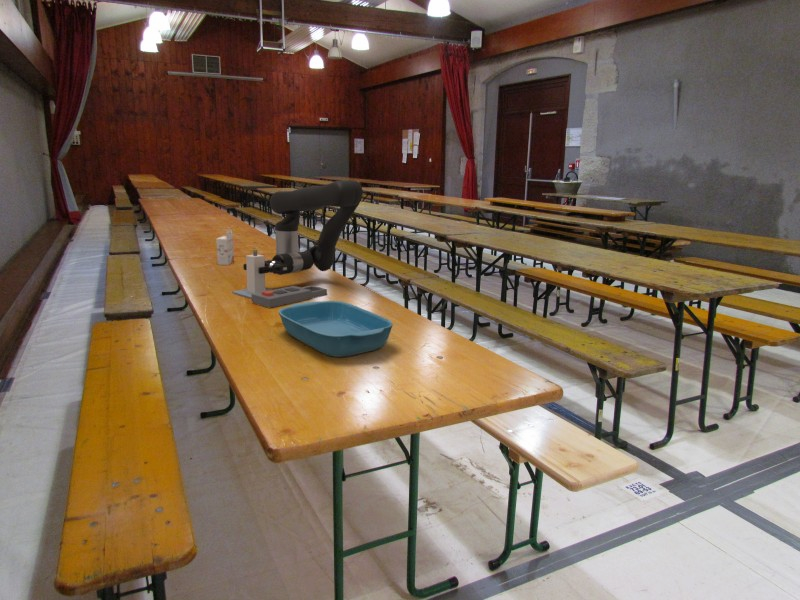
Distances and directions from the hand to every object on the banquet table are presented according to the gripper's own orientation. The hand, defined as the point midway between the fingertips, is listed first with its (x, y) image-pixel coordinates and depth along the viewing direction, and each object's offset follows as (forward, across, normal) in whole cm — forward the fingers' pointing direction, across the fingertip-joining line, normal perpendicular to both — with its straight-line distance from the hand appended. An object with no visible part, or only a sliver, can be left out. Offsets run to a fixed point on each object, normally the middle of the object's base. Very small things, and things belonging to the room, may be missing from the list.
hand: (251, 269), depth 197 cm
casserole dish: (+15, +56, +10) cm, 59 cm away
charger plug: (-2, 0, +8) cm, 9 cm away
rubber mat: (-2, 0, +9) cm, 9 cm away
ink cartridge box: (-26, -54, +9) cm, 61 cm away
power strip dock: (-6, +14, +9) cm, 18 cm away
